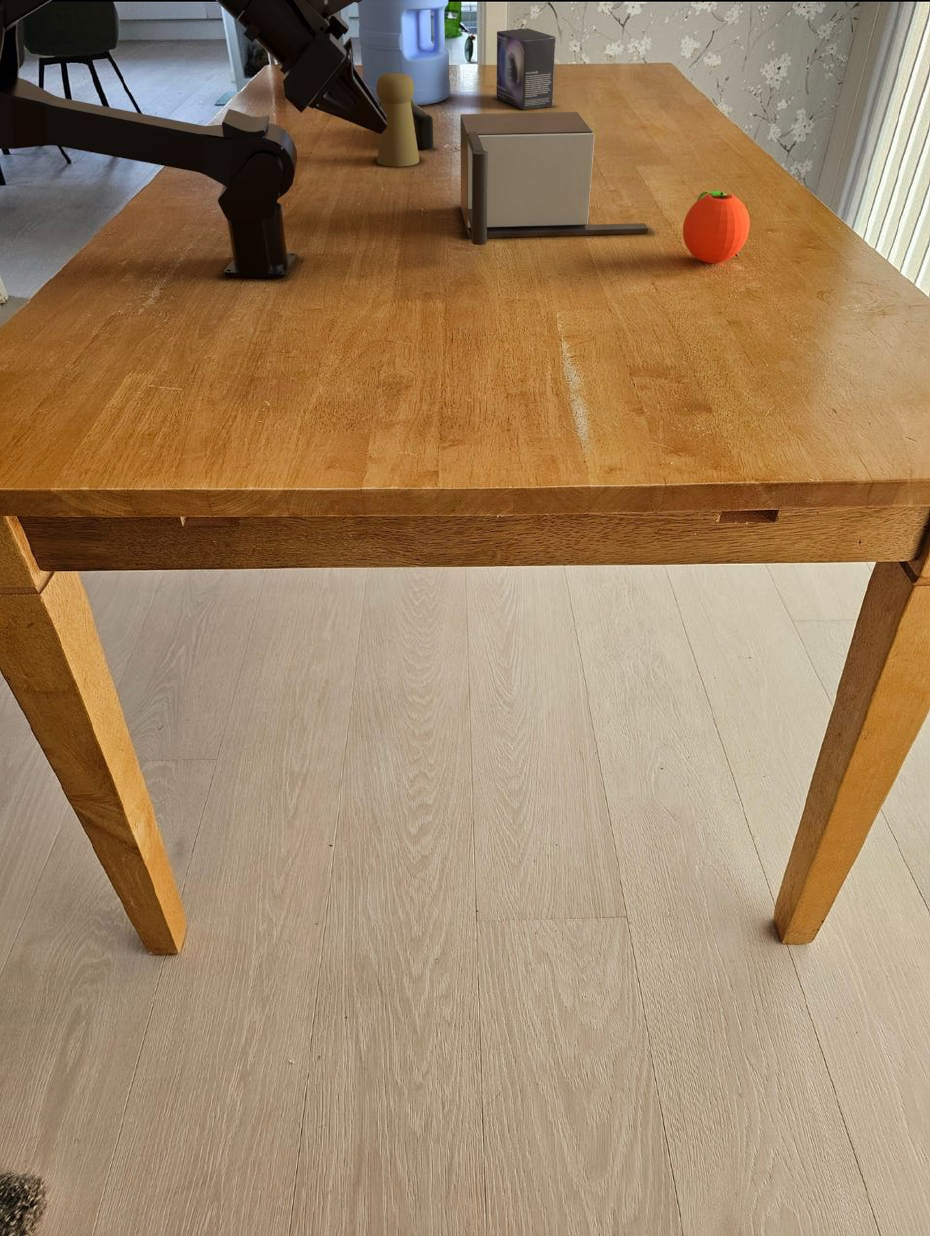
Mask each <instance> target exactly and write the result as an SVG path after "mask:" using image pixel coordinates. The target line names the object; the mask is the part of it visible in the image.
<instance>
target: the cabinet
mask: <svg viewBox="0 0 930 1236" xmlns="http://www.w3.org/2000/svg"><path fill="white" fill-rule="evenodd" d="M459 120H460V122H459V123H460V127H459V128H460V130H459V131H460V133H459V135H460V136H459V137H460V141H459V142H460V210H461V212H462V217H463V222H464V225H465V229H466V232H467V237H468V239H472V231H471V228H468V132H477V133H478V135H521V134H567V133H594V132H593V130H592V129H591V128H590V126H589V125H588V124H587V123H586V121H585V120H584V119H583V118H582V116H581V114H579V112H578V111H557V112H556V111H555V112H507V113H505V112H504V113H502V112H501V113H461V114H460V119H459ZM648 233H649V227H648V226H647V224H646V223H645V222H637V223H636V222H635V223H608V224H607V223H605V224H602V223H599V224H586V225H549V226H512V227H487V239H502V238H503V239H504V238H534V237H571V236H573V237H574V236H608V235H609V236H610V235H643V234H645V235H646V234H648Z"/></svg>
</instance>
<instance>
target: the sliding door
mask: <svg viewBox="0 0 930 1236" xmlns="http://www.w3.org/2000/svg"><path fill="white" fill-rule="evenodd" d="M595 136H596V135H595V132H593V133H567V134H521V135H478V133H477V132H468V228H471V231H472V238H471V243H472V245H475V246H483V245H486V244H487V242H488V238H487V227H512V226H549V225H589V212H590V199H591V186H592V175H593V163H594V161H593V159H594V149H595V148H594V146H595Z"/></svg>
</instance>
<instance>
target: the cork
mask: <svg viewBox="0 0 930 1236" xmlns="http://www.w3.org/2000/svg"><path fill="white" fill-rule="evenodd" d="M376 92H377V95H378V98H379V99H380V101H381V104H380V107H381V108H382V110H383V111H384V113H385V115H386V117H387V119H386V121H385V122H386V123H387V128H386V129H385V130H384V132H383V133H382V134H378V146H377V160H376V161H377V164H379V165H381V166H385V167H396V168H397V167H399V168H400V167H408V166H409V167H410V166H414V165H417V164H418V163H419V162H420V156H419V155H420V154H419V148H417V142H416V135H415V128H414V122H413V115H412V108H411V102H410V101H411V99H412V97H413V93H414V84H413V80H412V79H411V77H410V76H408V75H406V74H402V73H388V74H384V75H381V76H380V77H379V79H378V81H377V84H376Z"/></svg>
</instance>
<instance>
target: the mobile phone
mask: <svg viewBox="0 0 930 1236" xmlns="http://www.w3.org/2000/svg"><path fill="white" fill-rule="evenodd" d="M410 102H411V108H412V115H413V122H414V128H415V135H416V142H417V148H418V150H419V149H420V150H427V149H428V150H429V149H432V148H433V147H434V119H433V116H432V115H430V114H429V113H427V112H426V111H425V110H424V109H423V108H421V106H417V104H416V103H415V102H414V101H413V100H412V99H411V101H410Z"/></svg>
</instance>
